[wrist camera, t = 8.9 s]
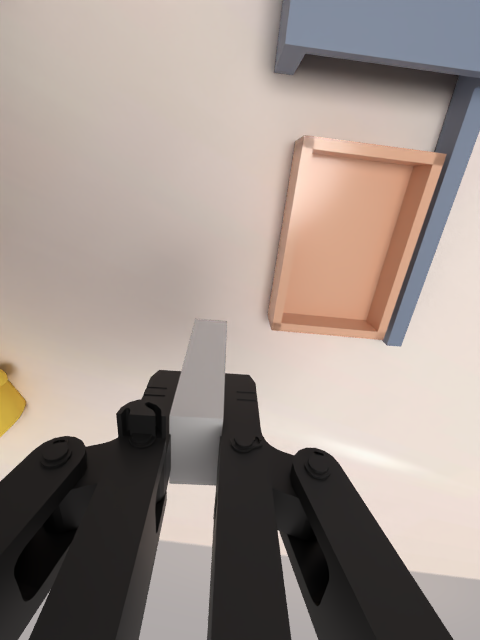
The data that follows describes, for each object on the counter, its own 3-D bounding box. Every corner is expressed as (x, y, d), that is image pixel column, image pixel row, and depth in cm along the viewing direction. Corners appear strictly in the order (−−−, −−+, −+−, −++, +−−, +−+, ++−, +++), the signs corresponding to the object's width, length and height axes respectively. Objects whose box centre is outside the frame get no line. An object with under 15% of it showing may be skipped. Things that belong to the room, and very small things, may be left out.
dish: (267, 315, 32) (271, 330, 29) (295, 141, 25) (304, 135, 22) (368, 324, 33) (383, 339, 29) (420, 157, 26) (446, 153, 23)
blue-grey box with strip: (244, 323, 32) (246, 347, 27) (323, -347, 16) (363, -572, 11) (389, 335, 33) (416, 361, 28) (600, -284, 17) (744, -467, 12)
